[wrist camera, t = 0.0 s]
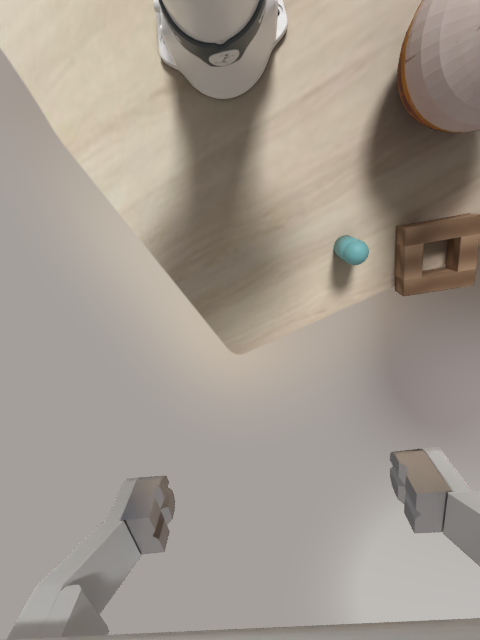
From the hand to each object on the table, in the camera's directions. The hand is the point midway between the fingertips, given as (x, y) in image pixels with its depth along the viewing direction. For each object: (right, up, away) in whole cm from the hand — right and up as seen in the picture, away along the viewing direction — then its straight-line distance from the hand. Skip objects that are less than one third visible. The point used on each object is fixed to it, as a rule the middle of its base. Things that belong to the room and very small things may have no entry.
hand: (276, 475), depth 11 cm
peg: (+18, +19, +43) cm, 51 cm away
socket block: (+33, +18, +43) cm, 57 cm away
